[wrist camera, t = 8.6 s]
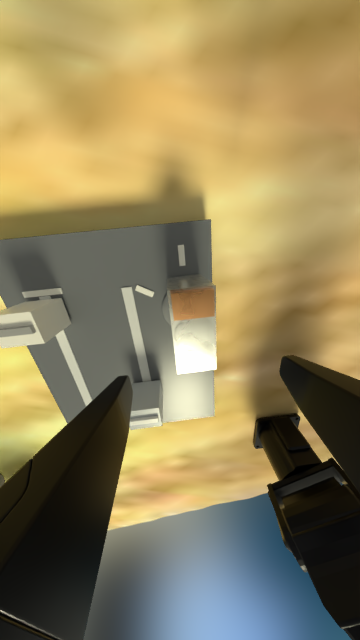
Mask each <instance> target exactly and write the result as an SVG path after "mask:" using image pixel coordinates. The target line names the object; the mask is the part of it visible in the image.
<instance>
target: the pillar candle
mask: <svg viewBox="0 0 360 640" xmlns="http://www.w3.org/2000/svg"><path fill="white" fill-rule="evenodd" d="M4 482H5V480H4V477H3V476H2V475H1V474H0V487H1V486H2V485H3V484H4Z"/></svg>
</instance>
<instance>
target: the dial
mask: <svg viewBox="0 0 360 640" xmlns="http://www.w3.org/2000/svg"><path fill="white" fill-rule="evenodd" d="M167 295H168V303H169V311H170V319H171V327H172V335H173V343H174V351H175V359H176V367H177V374H182V373H190V372H198V371H207V370H215V369H216V285H214V284H213V283H212V282H210V281H209V280H208V279H206V278H205V277H203V276H202V275H201V274H196V275H187V276H177V277H168V278H167Z"/></svg>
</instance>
